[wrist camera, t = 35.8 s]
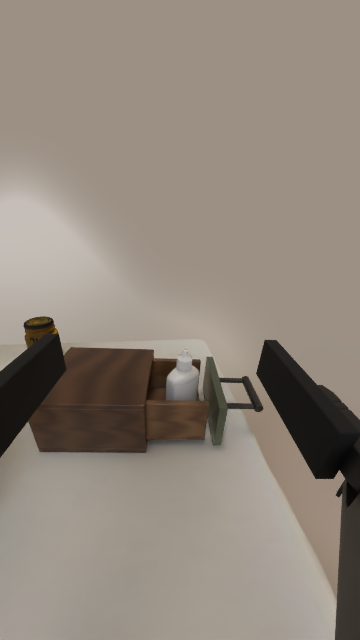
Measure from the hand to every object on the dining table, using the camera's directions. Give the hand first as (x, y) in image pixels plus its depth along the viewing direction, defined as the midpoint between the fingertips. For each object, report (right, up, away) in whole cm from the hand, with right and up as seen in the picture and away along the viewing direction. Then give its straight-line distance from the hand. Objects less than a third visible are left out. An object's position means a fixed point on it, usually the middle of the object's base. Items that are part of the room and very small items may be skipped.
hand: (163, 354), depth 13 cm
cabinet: (-12, -15, +23) cm, 30 cm away
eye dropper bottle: (+1, -13, +23) cm, 27 cm away
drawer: (+3, -14, +23) cm, 28 cm away
